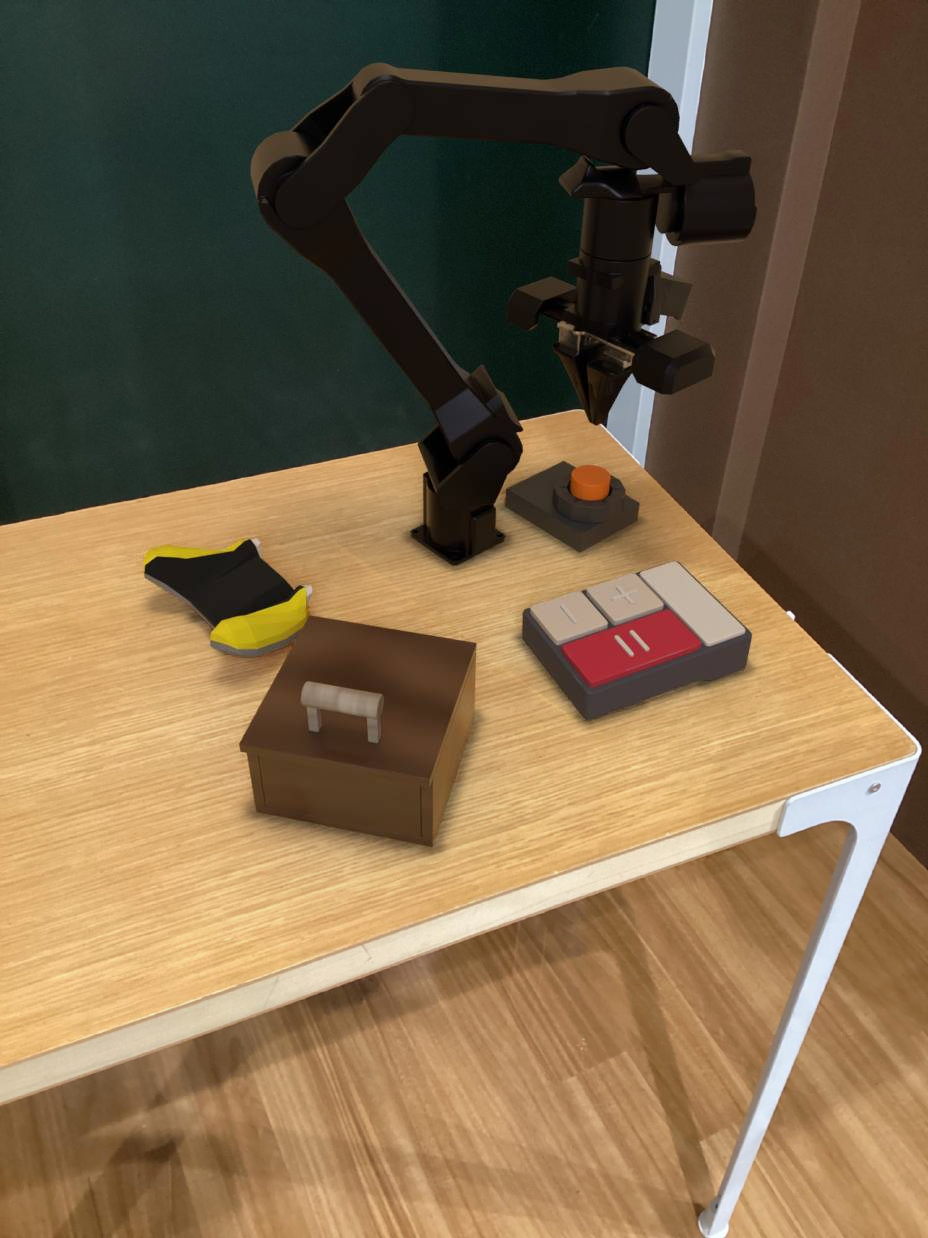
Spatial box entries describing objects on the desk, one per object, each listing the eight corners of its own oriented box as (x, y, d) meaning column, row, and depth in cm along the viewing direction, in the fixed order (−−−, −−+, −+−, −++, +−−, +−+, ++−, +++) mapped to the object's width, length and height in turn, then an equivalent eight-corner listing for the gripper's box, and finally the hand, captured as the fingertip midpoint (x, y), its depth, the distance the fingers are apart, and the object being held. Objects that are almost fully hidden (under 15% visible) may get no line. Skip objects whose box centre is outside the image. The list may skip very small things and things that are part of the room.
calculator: (520, 602, 86) (677, 551, 91) (520, 642, 89) (672, 590, 94) (588, 687, 78) (756, 627, 83) (585, 728, 81) (748, 667, 86)
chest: (432, 847, 72) (432, 779, 67) (255, 812, 74) (244, 743, 69) (474, 719, 81) (476, 651, 77) (316, 690, 83) (310, 623, 79)
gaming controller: (230, 695, 83) (337, 642, 88) (221, 641, 79) (333, 589, 84) (141, 600, 91) (243, 557, 96) (129, 548, 88) (236, 506, 93)
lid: (429, 788, 67) (429, 736, 64) (240, 752, 69) (231, 700, 66) (476, 650, 77) (478, 600, 74) (310, 623, 79) (305, 573, 76)
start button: (561, 489, 99) (563, 473, 98) (588, 476, 101) (590, 460, 100) (590, 506, 97) (592, 489, 96) (616, 492, 99) (618, 475, 98)
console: (504, 507, 104) (506, 471, 101) (562, 479, 108) (565, 444, 105) (581, 554, 98) (585, 518, 95) (639, 522, 102) (644, 487, 99)
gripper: (773, 258, 84) (737, 434, 94) (598, 197, 94) (582, 360, 104) (682, 294, 78) (654, 477, 88) (506, 224, 89) (499, 395, 98)
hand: (596, 422), depth 95 cm, fingers closed
